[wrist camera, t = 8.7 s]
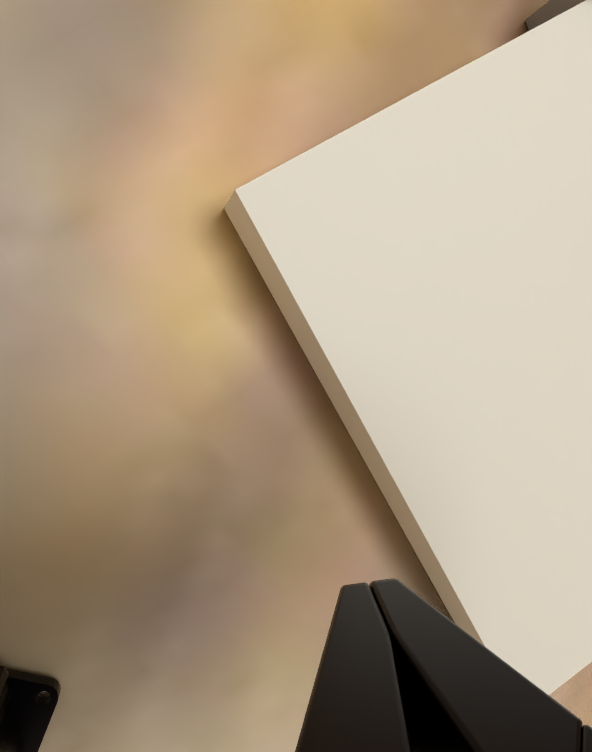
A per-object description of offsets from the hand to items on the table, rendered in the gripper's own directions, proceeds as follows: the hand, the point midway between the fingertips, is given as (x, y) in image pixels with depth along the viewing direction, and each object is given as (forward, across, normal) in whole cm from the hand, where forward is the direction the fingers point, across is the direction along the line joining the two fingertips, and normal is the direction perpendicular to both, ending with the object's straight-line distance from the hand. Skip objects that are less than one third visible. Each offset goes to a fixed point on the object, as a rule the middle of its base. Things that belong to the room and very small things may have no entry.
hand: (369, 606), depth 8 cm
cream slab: (+14, -9, +1) cm, 17 cm away
